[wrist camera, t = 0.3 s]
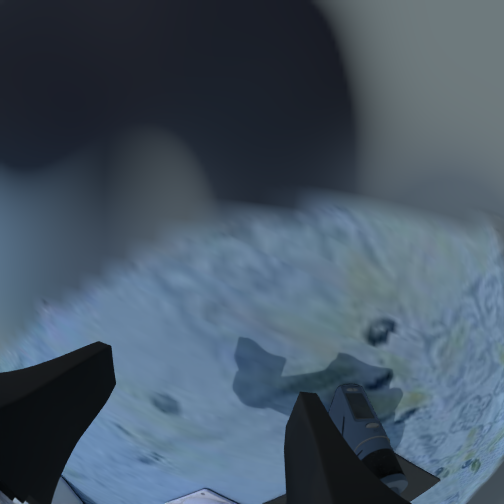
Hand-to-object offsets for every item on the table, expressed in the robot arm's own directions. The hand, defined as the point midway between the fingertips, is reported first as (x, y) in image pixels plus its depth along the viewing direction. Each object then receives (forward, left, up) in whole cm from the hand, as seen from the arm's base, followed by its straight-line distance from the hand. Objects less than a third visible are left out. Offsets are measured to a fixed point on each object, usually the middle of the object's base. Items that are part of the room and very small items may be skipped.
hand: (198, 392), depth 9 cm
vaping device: (0, -13, -11) cm, 17 cm away
